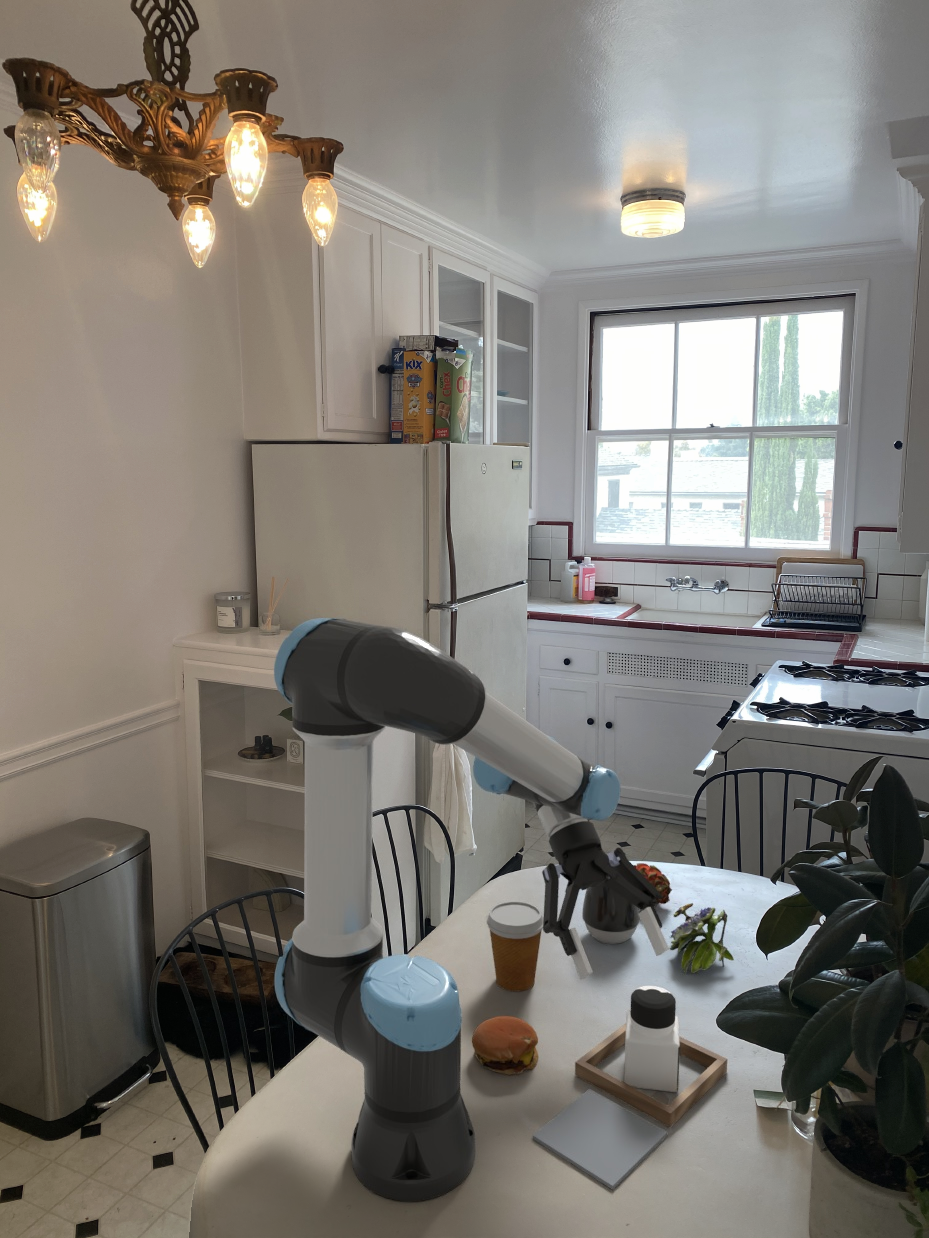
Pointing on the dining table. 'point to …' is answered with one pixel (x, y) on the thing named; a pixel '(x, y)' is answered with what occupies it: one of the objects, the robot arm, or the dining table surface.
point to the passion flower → (706, 946)
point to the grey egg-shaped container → (609, 914)
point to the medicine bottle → (652, 1040)
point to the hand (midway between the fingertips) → (625, 964)
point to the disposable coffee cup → (515, 943)
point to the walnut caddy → (640, 1100)
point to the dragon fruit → (656, 880)
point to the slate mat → (600, 1137)
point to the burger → (505, 1045)
